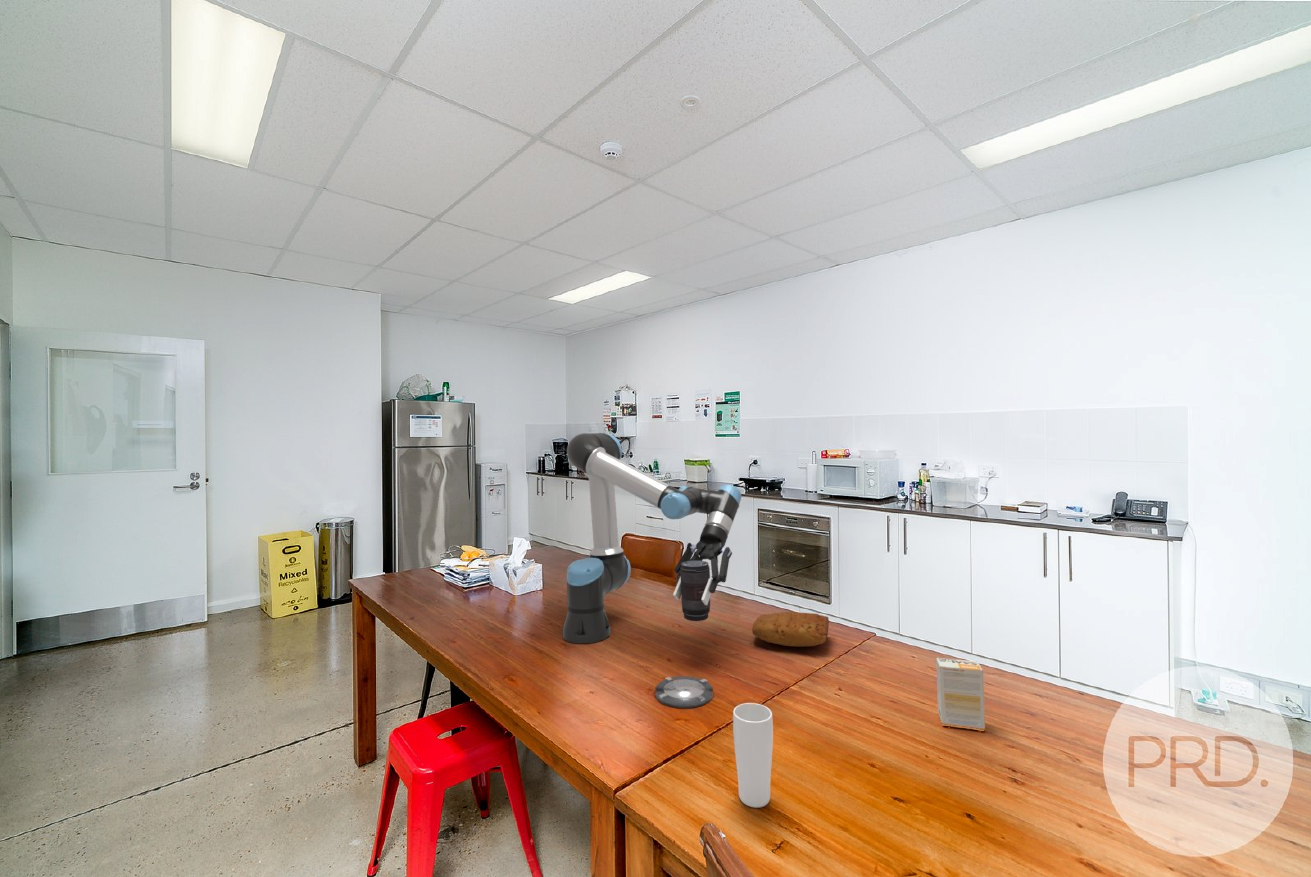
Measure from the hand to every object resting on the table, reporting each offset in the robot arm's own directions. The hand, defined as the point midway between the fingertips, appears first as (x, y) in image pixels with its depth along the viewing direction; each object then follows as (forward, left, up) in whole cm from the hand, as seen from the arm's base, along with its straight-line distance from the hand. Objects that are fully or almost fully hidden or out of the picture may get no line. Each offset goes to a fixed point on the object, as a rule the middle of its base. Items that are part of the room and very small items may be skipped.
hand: (689, 599), depth 145 cm
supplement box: (+57, +27, -19) cm, 66 cm away
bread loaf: (+5, +35, -19) cm, 40 cm away
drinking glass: (+47, -25, -19) cm, 56 cm away
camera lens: (-1, +3, -6) cm, 7 cm away
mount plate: (+10, -11, -19) cm, 24 cm away
